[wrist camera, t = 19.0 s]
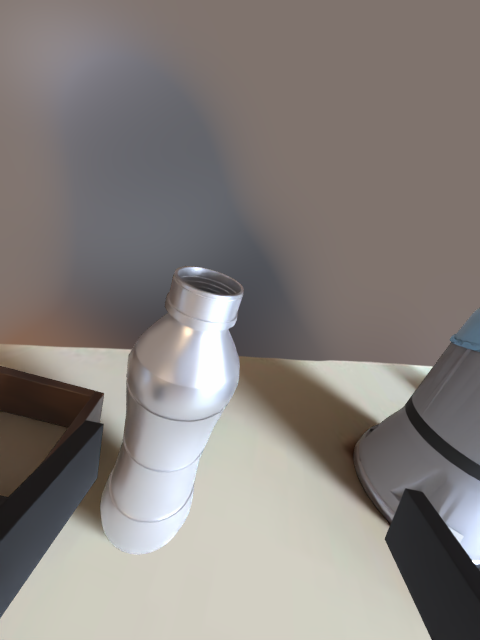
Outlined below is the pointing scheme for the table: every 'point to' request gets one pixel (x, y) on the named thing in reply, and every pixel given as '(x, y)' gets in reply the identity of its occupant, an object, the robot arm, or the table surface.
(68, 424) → the walnut box
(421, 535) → the robot arm
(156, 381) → the silver metal bottle
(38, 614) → the table surface
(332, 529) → the table surface
